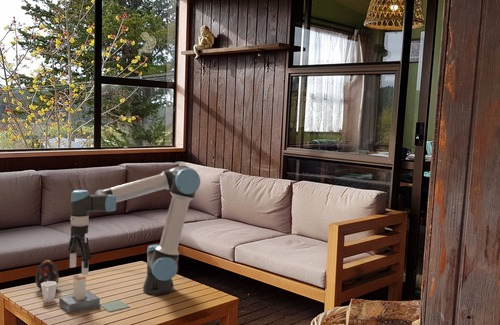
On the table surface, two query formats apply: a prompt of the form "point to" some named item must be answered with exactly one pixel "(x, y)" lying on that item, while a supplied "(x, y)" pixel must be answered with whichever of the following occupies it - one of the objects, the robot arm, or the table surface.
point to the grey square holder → (79, 303)
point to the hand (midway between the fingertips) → (78, 270)
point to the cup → (48, 290)
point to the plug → (79, 287)
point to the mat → (114, 306)
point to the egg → (46, 273)
